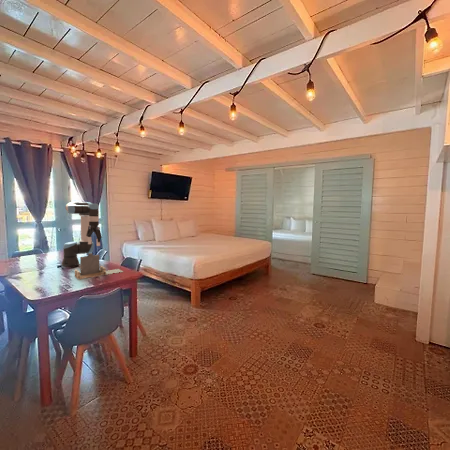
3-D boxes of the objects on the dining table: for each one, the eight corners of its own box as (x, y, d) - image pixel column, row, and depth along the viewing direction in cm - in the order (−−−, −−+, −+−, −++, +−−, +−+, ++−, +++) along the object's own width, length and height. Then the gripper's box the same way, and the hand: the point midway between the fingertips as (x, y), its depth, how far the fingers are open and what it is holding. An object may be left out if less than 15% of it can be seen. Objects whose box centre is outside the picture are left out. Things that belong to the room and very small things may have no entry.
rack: (74, 276, 208) (74, 269, 207) (101, 272, 223) (101, 265, 223) (77, 279, 200) (77, 272, 200) (105, 274, 216) (105, 268, 216)
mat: (101, 271, 224) (101, 271, 224) (118, 269, 235) (118, 268, 235) (106, 274, 216) (106, 274, 216) (123, 272, 226) (123, 271, 226)
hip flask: (98, 273, 220) (98, 251, 218) (100, 274, 217) (100, 252, 216) (79, 277, 206) (79, 254, 205) (82, 278, 204) (81, 255, 203)
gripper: (81, 220, 214) (82, 243, 216) (97, 222, 201) (97, 247, 203) (90, 220, 220) (90, 242, 222) (106, 221, 207) (106, 246, 209)
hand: (93, 245), depth 212 cm, fingers open, 13 cm apart
